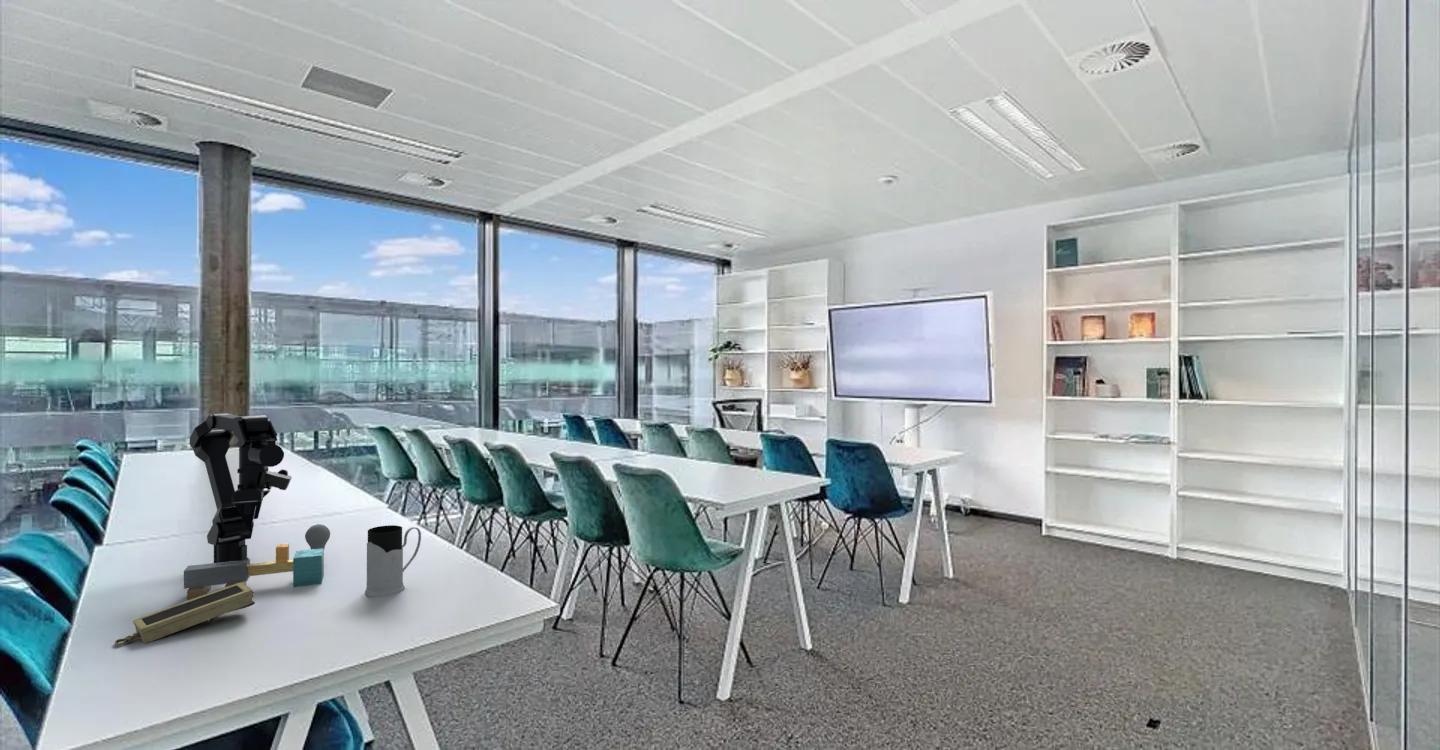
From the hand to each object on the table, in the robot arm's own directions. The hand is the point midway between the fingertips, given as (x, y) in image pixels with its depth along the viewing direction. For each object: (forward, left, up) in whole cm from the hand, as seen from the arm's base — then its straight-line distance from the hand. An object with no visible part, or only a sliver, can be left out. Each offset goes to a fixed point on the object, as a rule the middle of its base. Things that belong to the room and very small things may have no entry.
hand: (252, 522), depth 171 cm
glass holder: (+41, -16, -13) cm, 46 cm away
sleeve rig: (+8, -13, -13) cm, 20 cm away
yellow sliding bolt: (+9, -13, -10) cm, 18 cm away
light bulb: (+12, +9, -13) cm, 20 cm away
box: (+7, -37, -13) cm, 40 cm away
